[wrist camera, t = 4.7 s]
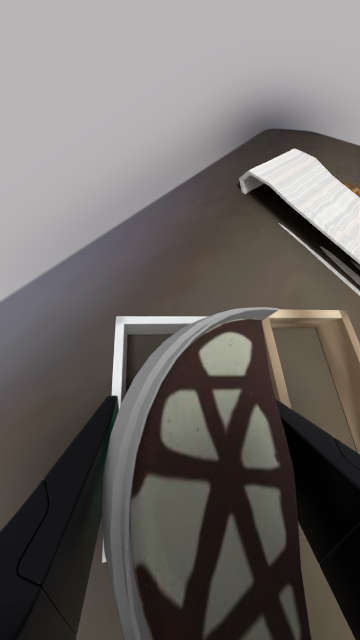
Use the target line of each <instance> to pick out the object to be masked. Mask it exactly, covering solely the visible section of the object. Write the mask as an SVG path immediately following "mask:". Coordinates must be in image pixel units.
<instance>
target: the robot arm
mask: <svg viewBox="0 0 360 640" xmlns="http://www.w3.org/2000/svg"><path fill="white" fill-rule="evenodd" d="M276 403H277V407H278V410H279V414H280V418H281V421H282V425H283V428H284V432H285V436H286V440H287V444H288V448H289V453H290V457H291V461H292V465H293V471H294V479H295V490H296V500H297V514H298V522H299V524H300V526H301V528H302V530H303V532H304V534H305V536H306V538H307V540H308V542H309V544H310V546H311V548H312V550H313V553H314V555H315V557H316V559H317V561H318V563H319V564H320V567H321V569H322V571H323V574H324V576H325V578H326V580H327V582H328V584H329V586H330V588H331V590H332V592H333V594H334V596H335V598H336V600H337V602H338V604H339V606H340V609H341V611H342V613H343V615H344V617H345V619H346V621H347V623H348V625H349V627H350V629H351V631H352V633H353V635H354V637H355V639H356V640H360V454H359V453H357V452H356V451H354V450H353V449H351V448H349V447H348V446H346V445H345V444H343V443H342V442H340V441H339V440H337V439H336V438H333V437H332V436H331V435H330V434H328V433H327V432H325V431H324V430H322V429H321V428H319V427H318V426H316V425H315V424H313V423H312V422H310V421H309V420H307V419H306V418H304V417H302V416H301V415H299V414H298V413H296V412H295V411H293V410H292V409H290V408H289V407H287V406H286V405H284V404H283V403H281V402H280V401H278V400H277V399H276ZM118 412H119V404H118V396H116V395H115V396H108V397H107V398H106V399H105V400H104V402H103V403H102V404H101V406H100V407H99V408H98V409H97V411H96V412H95V413H94V415H93V416H92V417H91V418H90V420H89V421H88V422H87V424H86V425H85V426H84V427H83V429H82V430H81V431H80V433H79V434H78V435H77V436H76V438H75V439H74V440H73V442H72V443H71V444H70V445H69V447H68V448H67V449H66V451H65V452H64V453H63V454H62V456H61V457H60V458H59V460H58V461H57V462H56V463H55V465H54V466H53V467H52V469H51V470H50V471H49V472H48V474H47V475H46V476H45V480H42V481H41V483H40V484H39V485H38V486H37V488H36V489H35V490H34V492H33V493H32V494H31V495H30V497H29V498H28V499H27V500H26V502H25V503H24V504H23V505H22V507H21V508H20V509H19V510H18V511H17V513H16V514H15V515H14V516H13V517H12V519H11V520H10V521H9V522H8V523H7V524H6V526H5V527H4V528H3V529H2V530H1V531H0V640H76V636H75V635H76V634H77V631H78V626H79V622H80V617H81V612H82V607H83V602H84V598H85V593H86V588H87V583H88V578H89V574H90V569H91V564H92V559H93V554H94V550H95V545H96V540H97V535H98V530H99V526H100V521H101V516H102V512H101V505H102V490H103V475H104V466H105V461H106V456H107V451H108V446H109V441H110V436H111V432H112V429H113V426H114V423H115V421H116V418H117V415H118Z"/></svg>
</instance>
